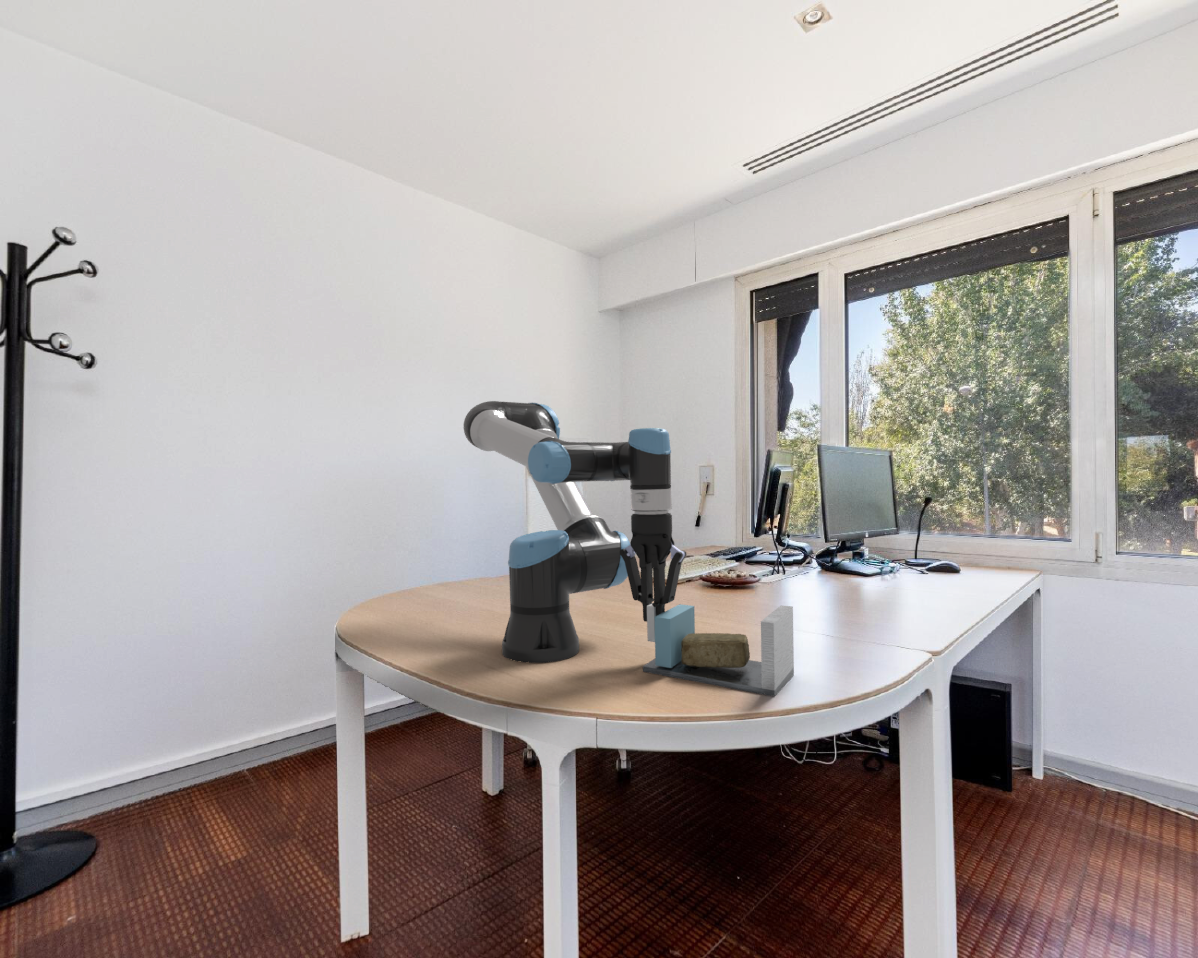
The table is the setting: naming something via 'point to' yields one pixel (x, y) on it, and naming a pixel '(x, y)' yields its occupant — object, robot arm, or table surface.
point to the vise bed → (755, 674)
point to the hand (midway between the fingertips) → (654, 639)
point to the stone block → (715, 650)
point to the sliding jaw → (672, 634)
